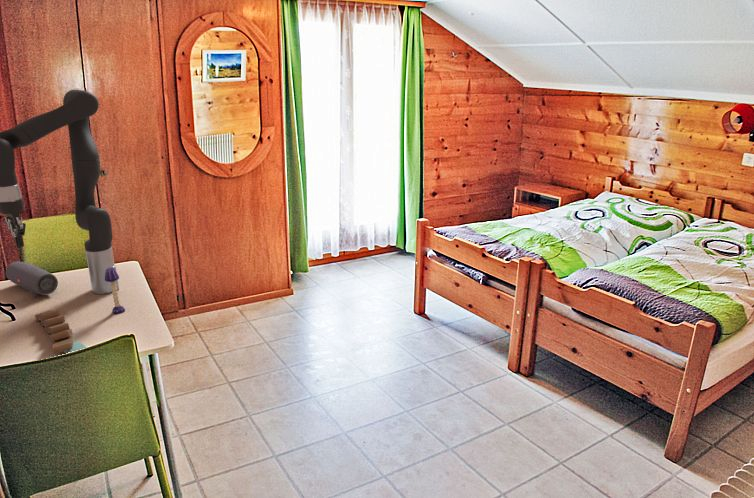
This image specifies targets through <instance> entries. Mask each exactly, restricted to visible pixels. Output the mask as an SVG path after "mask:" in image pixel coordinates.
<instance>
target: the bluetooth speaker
mask: <svg viewBox="0 0 754 498" xmlns="http://www.w3.org/2000/svg"><path fill="white" fill-rule="evenodd" d="M5 276H6V278H7V280H8V281H10V282H11V283H14V284H15V285H16V286H19V287H20V288H23V289H25V290H26V291H28V292H30V293H32V294H35V295H42V296H48V295H50V294H52V293H54V292H55V291H56V290H57V289H58V284H59V281H58V279H57V277H56V276H55V275H54V274H52V273H51V272H49V271H47V270H45V269H44V268H40V267H38V266H37V265H34V264H30V263H28V262H24V261H19V260H17V261H13V262H11V263H10V264H9V265H8V266H7V267H6V268H5Z"/></svg>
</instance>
